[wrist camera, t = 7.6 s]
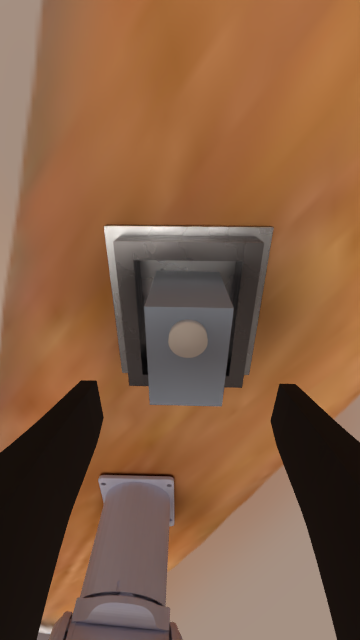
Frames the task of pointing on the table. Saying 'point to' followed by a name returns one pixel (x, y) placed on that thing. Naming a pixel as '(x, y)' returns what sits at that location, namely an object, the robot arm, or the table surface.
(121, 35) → the table surface
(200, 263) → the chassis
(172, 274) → the block
